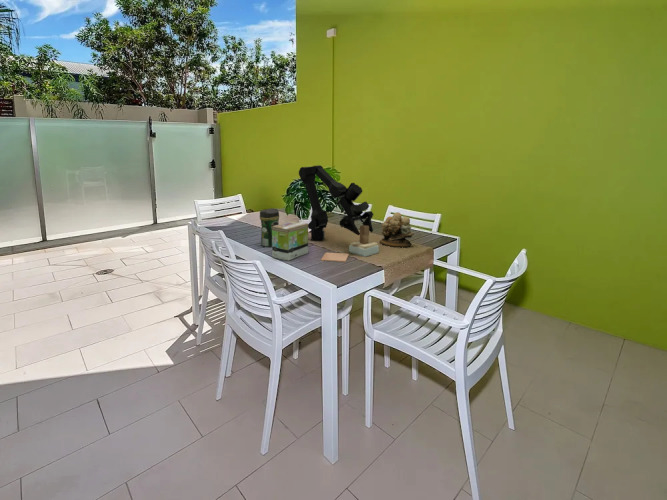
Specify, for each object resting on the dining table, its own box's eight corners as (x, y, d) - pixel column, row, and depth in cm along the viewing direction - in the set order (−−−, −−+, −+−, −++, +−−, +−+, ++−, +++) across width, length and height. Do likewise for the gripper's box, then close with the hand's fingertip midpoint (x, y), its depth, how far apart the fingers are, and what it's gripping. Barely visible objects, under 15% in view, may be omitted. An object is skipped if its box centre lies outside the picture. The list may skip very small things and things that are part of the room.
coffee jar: (272, 241, 198) (271, 206, 193) (283, 244, 193) (281, 208, 188) (258, 245, 191) (256, 209, 185) (268, 248, 186) (267, 211, 181)
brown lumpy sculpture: (416, 244, 194) (419, 211, 189) (409, 250, 184) (411, 216, 179) (384, 239, 203) (385, 208, 198) (375, 244, 193) (376, 212, 188)
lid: (350, 246, 179) (350, 225, 176) (363, 243, 185) (363, 223, 182) (364, 250, 173) (365, 229, 170) (377, 247, 179) (378, 226, 176)
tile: (321, 260, 167) (321, 259, 167) (325, 253, 178) (325, 252, 178) (345, 262, 166) (345, 261, 165) (348, 254, 176) (348, 253, 176)
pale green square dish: (349, 252, 180) (349, 245, 179) (363, 248, 186) (363, 241, 185) (364, 256, 173) (364, 249, 172) (378, 252, 179) (378, 245, 178)
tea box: (289, 261, 167) (288, 228, 162) (272, 257, 172) (270, 226, 168) (309, 253, 179) (308, 222, 175) (292, 249, 184) (291, 220, 180)
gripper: (343, 198, 169) (361, 226, 164) (371, 194, 181) (388, 220, 177) (331, 213, 177) (348, 240, 172) (358, 208, 189) (375, 233, 184)
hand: (365, 233), depth 176 cm, fingers open, 9 cm apart
